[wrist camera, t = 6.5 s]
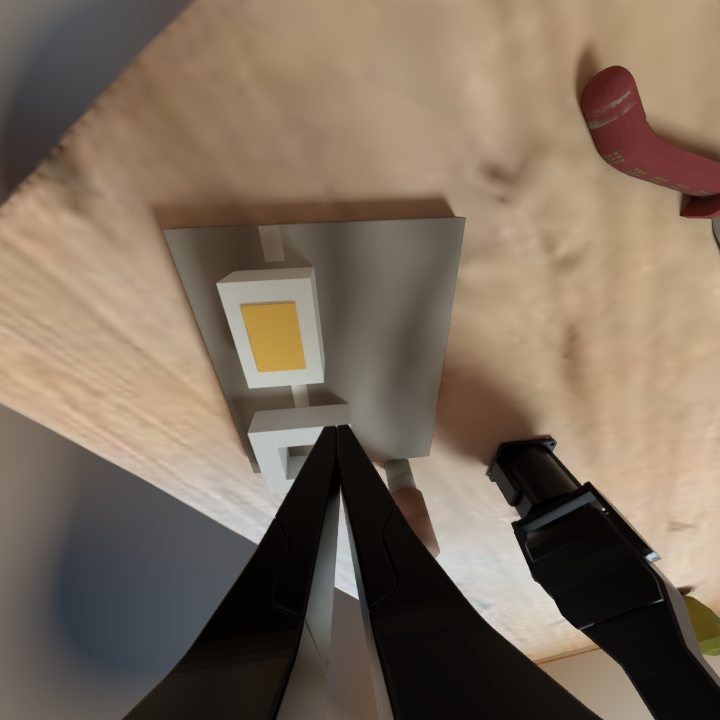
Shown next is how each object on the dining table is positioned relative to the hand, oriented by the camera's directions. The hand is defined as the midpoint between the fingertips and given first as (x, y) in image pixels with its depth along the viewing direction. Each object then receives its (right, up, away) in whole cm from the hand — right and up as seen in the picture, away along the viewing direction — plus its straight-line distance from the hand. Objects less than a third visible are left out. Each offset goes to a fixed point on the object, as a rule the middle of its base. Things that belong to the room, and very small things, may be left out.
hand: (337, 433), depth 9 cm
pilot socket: (-4, -5, +16) cm, 17 cm away
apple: (+81, -58, +58) cm, 115 cm away
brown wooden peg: (+5, -10, +21) cm, 24 cm away
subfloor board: (-1, +2, +13) cm, 14 cm away
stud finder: (-5, +5, +9) cm, 12 cm away
